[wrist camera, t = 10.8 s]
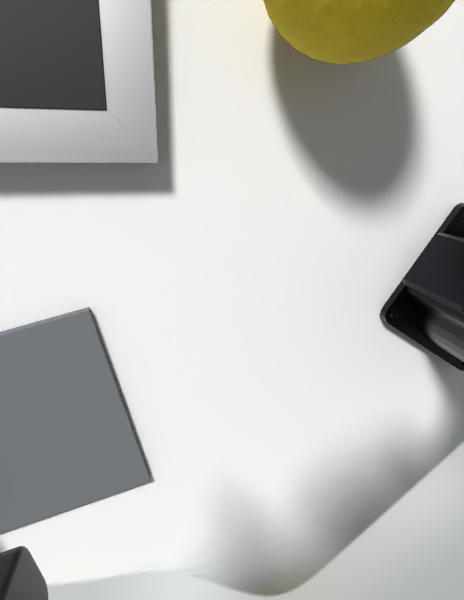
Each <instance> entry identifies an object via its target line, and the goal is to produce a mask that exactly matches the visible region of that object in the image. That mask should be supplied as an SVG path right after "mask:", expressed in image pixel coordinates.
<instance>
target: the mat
mask: <svg viewBox="0 0 464 600" xmlns="http://www.w3.org/2000/svg"><path fill="white" fill-rule="evenodd" d="M148 482H150V475H149V472H148V470H147V467H146V464H145V461H144V459H143V456H142V453H141V450H140V448H139V445H138V442H137V439H136V436H135V434H134V431H133V428H132V425H131V423H130V420H129V417H128V414H127V412H126V409H125V406H124V403H123V400H122V398H121V395H120V392H119V389H118V387H117V384H116V381H115V378H114V376H113V373H112V370H111V367H110V365H109V362H108V359H107V356H106V353H105V351H104V348H103V345H102V342H101V340H100V337H99V334H98V331H97V329H96V326H95V323H94V320H93V317H92V315H91V312H90V309H89V307H88V308H85V309H81V310H78V311H74V312H70V313H67V314H63V315H60V316H56V317H53V318H49V319H45V320H42V321H38V322H35V323H31V324H28V325H24V326H20V327H17V328H13V329H10V330H6V331H3V332H0V534H1V533H4V532H7V531H10V530H13V529H16V528H19V527H22V526H25V525H27V524H30V523H33V522H36V521H39V520H42V519H45V518H48V517H50V516H53V515H56V514H59V513H62V512H65V511H68V510H71V509H74V508H76V507H79V506H82V505H85V504H88V503H91V502H94V501H97V500H99V499H102V498H105V497H108V496H111V495H114V494H117V493H120V492H123V491H125V490H128V489H131V488H134V487H137V486H140V485H143V484H146V483H148Z"/></svg>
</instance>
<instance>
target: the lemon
mask: <svg viewBox="0 0 464 600" xmlns="http://www.w3.org/2000/svg"><path fill="white" fill-rule="evenodd" d="M263 1H264V4H265V6H266V9H267V12H268V15H269V17H270V19H271V21H272V22H273V24H274V25H275V27H276V29H277V30H278V32H279V33H280V35H281V36H282V37H283V38H284V39H285V40H286V41H287V42H288V43H289V44H291V45H292V46H293V47H294V48H295V49H296V50H298V51H299V52H301V53H303V54H305V55H307V56H309V57H310V58H312V59H315V60H319V61H323V62H328V63H333V64H348V63H357V62H366V61H370V60H373V59H375V58H378V57H380V56H382V55H385V54H387V53H390V52H392V51H394V50H397V49H399V48H401V47H402V46H404V45H406V44H407V43H409V42H410V41H412V40H413V39H414V38H416V37H417V36H418V35H419V34H421V33H422V32H423V31H424V30H426V29H427V28H428V27H430V26H431V25H432V24H433V23H434V22H436V21H437V20H438V19H439V18H440V17H441V16H442V15H443V14H444V13H445V12H446V11H447V10H448V9H449V7H450V6H451V5H452V4H453V2H454V1H455V0H263Z"/></svg>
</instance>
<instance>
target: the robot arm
mask: <svg viewBox="0 0 464 600" xmlns="http://www.w3.org/2000/svg"><path fill="white" fill-rule="evenodd" d="M463 212H464V203H460V204H457V205H456V206H455V207H454V209H453V210H452V211H451V213H450V214H449V216H448V217H447V218H446V220H445V221H444V223H443V224H442V225H441V227H440V228H439V229H438V231H437V232H436V234H435V235H434V236H433V238H432V239H431V241H430V242H429V243H428V245H427V246H426V248H425V249H424V250H423V252H422V253H421V255H420V256H419V257H418V259H417V260H416V261H415V263H414V264H413V266H412V267H411V268H410V270H409V271H408V273H407V274H406V275H405V277H404V278H403V280H402V281H401V282H400V284H399V285H398V287H397V288H396V289H395V291H394V292H393V294H392V295H391V296H390V298H389V299H388V300H387V302H386V303H385V305H384V306H383V308H382V310H381V314H380V315H381V318H382V319H383V320H384V321H385V322H387V323H388V324H390V325H392V326H393V327H395V328H396V329H398V330H399V331H401V332H402V333H404V334H405V335H407V336H408V337H410V338H411V339H413V340H415V341H416V342H418V343H419V344H421V345H422V346H424V347H425V348H427V349H428V350H430V351H431V352H433V353H435V354H436V355H438V356H439V357H441V358H442V359H444V360H445V361H447V362H448V363H450V364H451V365H453V366H454V367H456V368H458V369H459V370H462V371H464V217H463V218H462V214H463ZM393 310H395V312H394V314H393V315H392V316H390V313H391V312H392V311H393ZM0 600H48V590H47V585H46V582H45V579H44V577H43V576H42V574H41V572H40V570H39V568H38V566H37V565H36V563H35V561H34V559H33V557H32V555H31V554H30V552H29V550H28V549H27V548H26V547H23V546H20V547H17V548H14V549H11V550H8V551H5V552H2V553H0Z"/></svg>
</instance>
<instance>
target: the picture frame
mask: <svg viewBox="0 0 464 600" xmlns="http://www.w3.org/2000/svg"><path fill="white" fill-rule="evenodd" d="M157 162H158V153H157V129H156V106H155V82H154V58H153V35H152V11H151V0H0V163H157Z"/></svg>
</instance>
